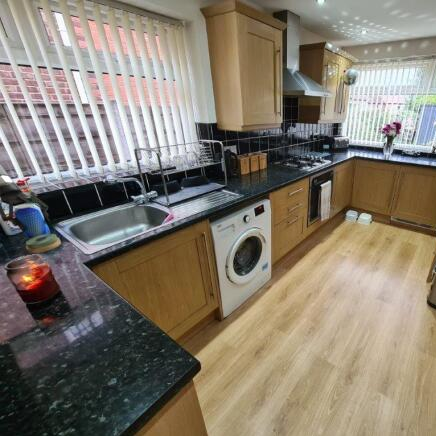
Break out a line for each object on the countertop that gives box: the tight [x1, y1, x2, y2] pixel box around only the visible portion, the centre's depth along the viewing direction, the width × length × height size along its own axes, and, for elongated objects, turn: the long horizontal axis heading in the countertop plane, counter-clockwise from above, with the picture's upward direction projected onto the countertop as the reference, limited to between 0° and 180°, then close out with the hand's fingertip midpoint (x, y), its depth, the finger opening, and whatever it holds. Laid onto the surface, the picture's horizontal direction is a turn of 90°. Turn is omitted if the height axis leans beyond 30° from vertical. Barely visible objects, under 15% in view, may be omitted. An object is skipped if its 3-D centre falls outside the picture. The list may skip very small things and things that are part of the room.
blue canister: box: [13, 202, 51, 240], centre depth 114 cm, size 8×8×16 cm
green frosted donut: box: [25, 233, 62, 254], centre depth 108 cm, size 11×11×4 cm
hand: (37, 226), depth 113 cm, fingers closed on blue canister, 8 cm apart
